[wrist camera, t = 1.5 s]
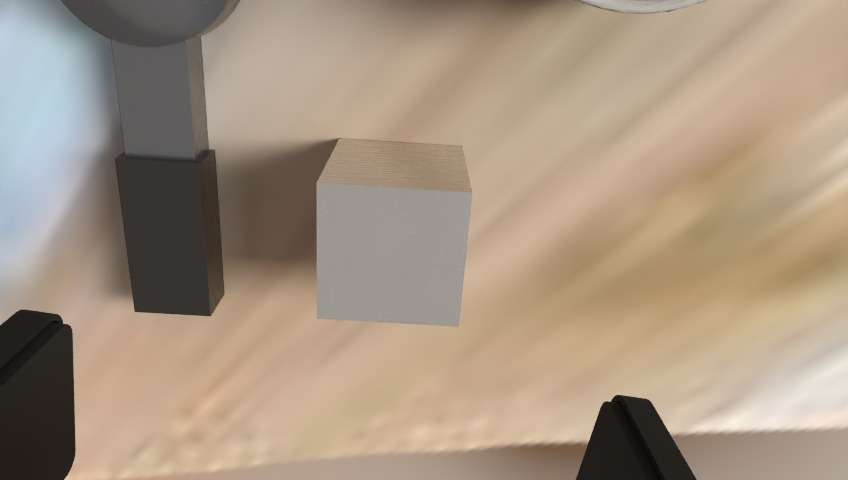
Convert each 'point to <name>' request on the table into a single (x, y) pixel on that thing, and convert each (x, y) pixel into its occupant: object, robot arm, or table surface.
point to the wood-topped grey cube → (392, 232)
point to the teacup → (640, 5)
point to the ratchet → (165, 148)
